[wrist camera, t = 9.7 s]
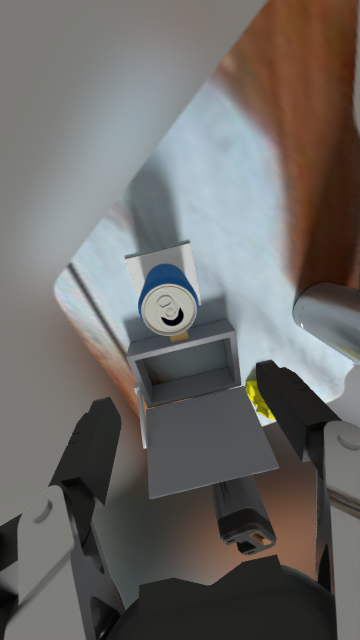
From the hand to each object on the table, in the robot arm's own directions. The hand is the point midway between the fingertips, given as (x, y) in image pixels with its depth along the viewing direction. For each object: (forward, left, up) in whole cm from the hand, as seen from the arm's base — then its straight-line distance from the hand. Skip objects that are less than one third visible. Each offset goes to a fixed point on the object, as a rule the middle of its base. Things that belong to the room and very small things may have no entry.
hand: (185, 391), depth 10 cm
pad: (0, -1, -22) cm, 22 cm away
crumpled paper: (-14, +27, -23) cm, 38 cm away
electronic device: (-3, +33, -23) cm, 40 cm away
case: (+1, +16, -22) cm, 28 cm away
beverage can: (0, -1, -22) cm, 22 cm away
